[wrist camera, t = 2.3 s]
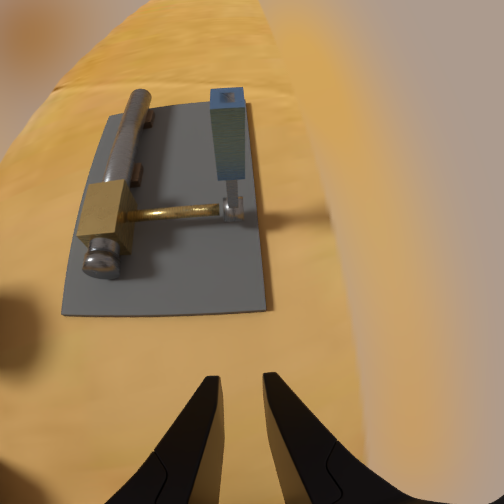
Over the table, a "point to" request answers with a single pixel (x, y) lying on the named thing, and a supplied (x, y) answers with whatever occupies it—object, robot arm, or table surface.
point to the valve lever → (229, 145)
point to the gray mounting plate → (175, 230)
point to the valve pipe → (123, 197)
